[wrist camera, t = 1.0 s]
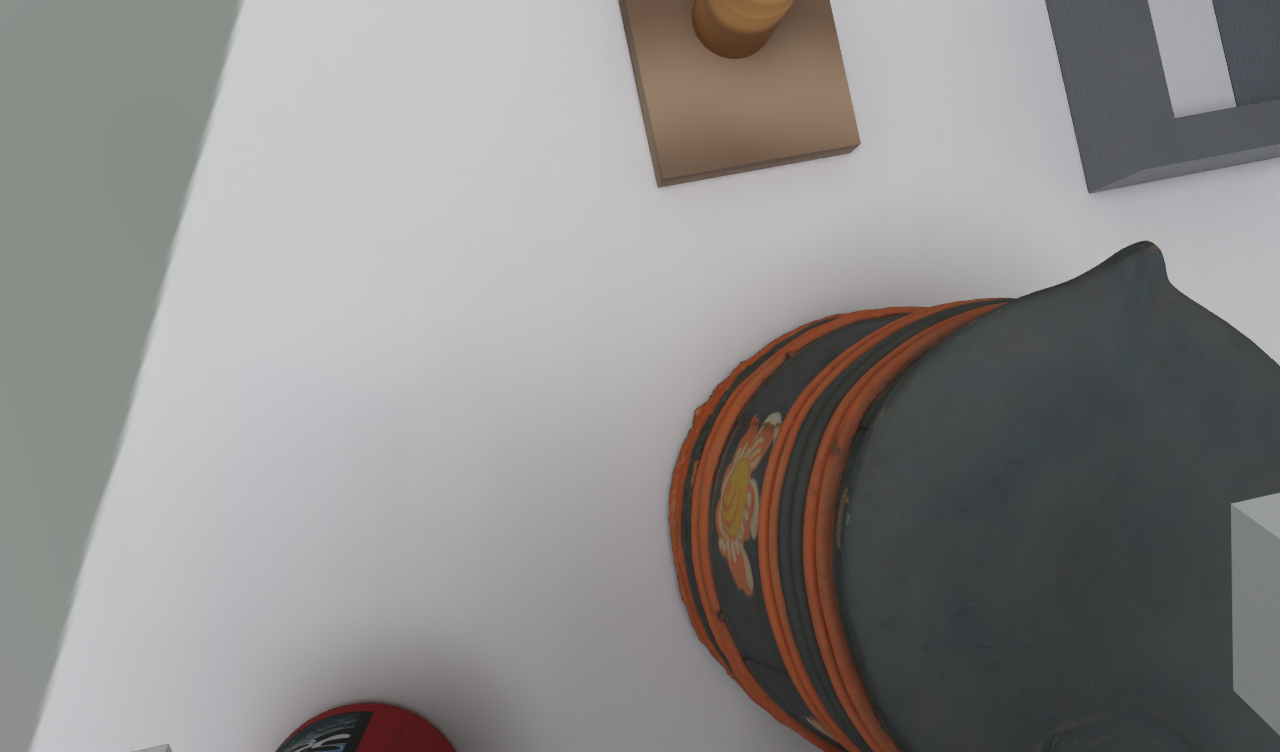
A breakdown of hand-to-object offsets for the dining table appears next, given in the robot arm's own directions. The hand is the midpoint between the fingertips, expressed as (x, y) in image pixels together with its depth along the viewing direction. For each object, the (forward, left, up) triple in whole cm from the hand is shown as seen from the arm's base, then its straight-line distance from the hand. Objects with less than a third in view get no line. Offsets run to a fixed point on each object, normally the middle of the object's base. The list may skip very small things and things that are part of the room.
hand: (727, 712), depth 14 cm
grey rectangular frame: (+13, -25, -25) cm, 37 cm away
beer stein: (-4, -10, -25) cm, 27 cm away
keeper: (+16, -9, -25) cm, 31 cm away
